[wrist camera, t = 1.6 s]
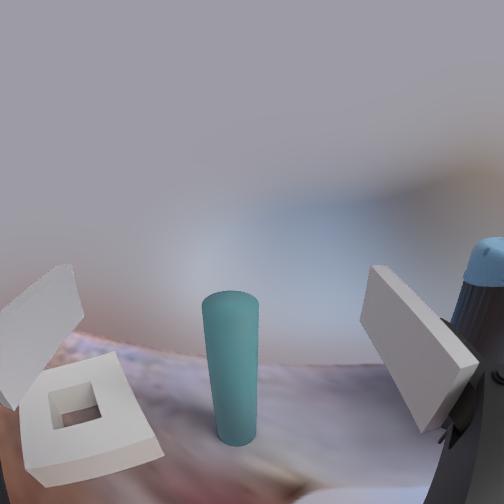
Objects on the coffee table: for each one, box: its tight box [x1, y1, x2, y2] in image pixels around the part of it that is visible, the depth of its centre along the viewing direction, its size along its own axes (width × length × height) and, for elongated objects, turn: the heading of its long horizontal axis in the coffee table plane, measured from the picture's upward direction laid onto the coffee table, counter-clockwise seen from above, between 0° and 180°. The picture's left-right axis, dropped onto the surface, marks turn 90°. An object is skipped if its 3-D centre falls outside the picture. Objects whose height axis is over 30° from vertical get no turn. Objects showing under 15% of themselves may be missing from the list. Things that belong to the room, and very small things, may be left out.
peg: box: [202, 291, 259, 446], centre depth 26 cm, size 4×4×18 cm
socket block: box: [19, 351, 165, 488], centre depth 25 cm, size 16×16×4 cm
